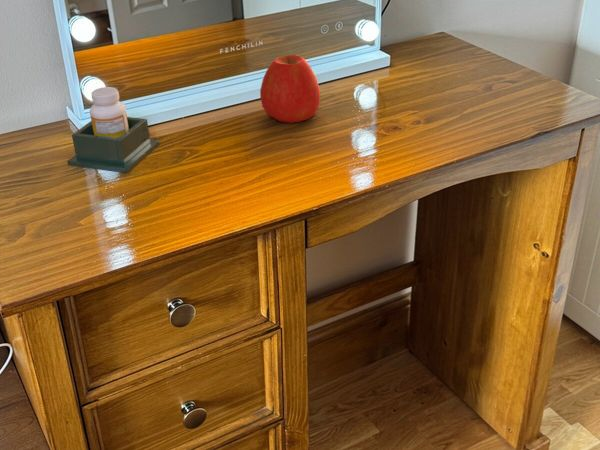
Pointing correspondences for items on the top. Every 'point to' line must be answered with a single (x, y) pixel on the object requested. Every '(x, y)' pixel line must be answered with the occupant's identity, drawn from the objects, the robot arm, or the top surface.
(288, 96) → the apple
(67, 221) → the top surface
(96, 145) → the bottle holder
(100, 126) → the supplement bottle
